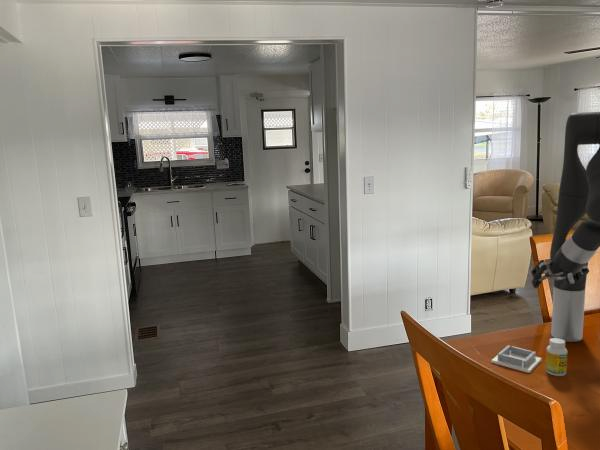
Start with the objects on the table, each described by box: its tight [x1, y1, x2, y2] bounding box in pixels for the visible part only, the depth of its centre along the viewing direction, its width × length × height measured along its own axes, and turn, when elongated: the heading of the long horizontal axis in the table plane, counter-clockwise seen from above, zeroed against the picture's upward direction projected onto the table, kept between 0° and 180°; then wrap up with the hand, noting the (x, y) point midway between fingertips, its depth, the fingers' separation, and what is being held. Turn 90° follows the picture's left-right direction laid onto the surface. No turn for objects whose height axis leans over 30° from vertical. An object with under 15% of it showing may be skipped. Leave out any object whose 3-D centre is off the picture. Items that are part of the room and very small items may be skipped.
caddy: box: [490, 344, 543, 374], centre depth 150 cm, size 10×11×3 cm
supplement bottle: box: [545, 337, 568, 377], centre depth 142 cm, size 5×5×10 cm
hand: (547, 286), depth 147 cm, fingers open, 8 cm apart
